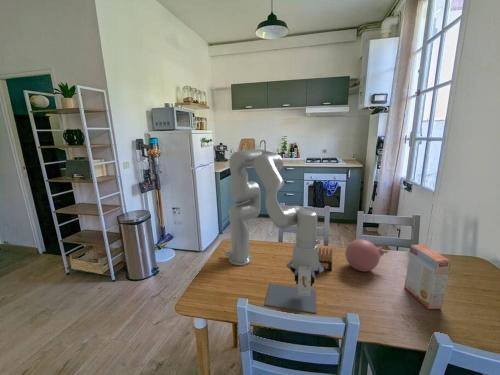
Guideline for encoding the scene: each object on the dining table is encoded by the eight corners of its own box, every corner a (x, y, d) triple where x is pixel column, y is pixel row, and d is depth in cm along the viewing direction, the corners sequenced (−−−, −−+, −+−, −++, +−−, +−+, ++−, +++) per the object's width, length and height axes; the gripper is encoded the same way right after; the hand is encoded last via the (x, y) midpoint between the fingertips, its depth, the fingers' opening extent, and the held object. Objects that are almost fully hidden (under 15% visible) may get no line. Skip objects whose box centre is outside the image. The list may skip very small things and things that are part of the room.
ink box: (298, 282, 103) (299, 257, 100) (309, 283, 102) (311, 258, 99) (297, 295, 95) (298, 268, 92) (310, 296, 94) (311, 269, 91)
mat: (264, 305, 96) (264, 304, 96) (269, 284, 110) (270, 283, 110) (316, 313, 92) (316, 312, 92) (315, 290, 105) (315, 289, 105)
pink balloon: (393, 278, 113) (398, 248, 110) (350, 277, 114) (353, 247, 111) (378, 261, 128) (382, 234, 125) (340, 260, 129) (342, 233, 126)
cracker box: (442, 309, 93) (452, 260, 89) (427, 310, 93) (436, 261, 88) (416, 286, 107) (424, 243, 102) (403, 287, 107) (410, 244, 102)
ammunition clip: (331, 269, 121) (332, 247, 119) (331, 271, 120) (333, 249, 117) (309, 267, 123) (310, 245, 121) (309, 269, 122) (310, 247, 119)
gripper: (328, 239, 95) (325, 280, 99) (284, 236, 99) (284, 275, 103) (329, 248, 88) (326, 292, 92) (283, 244, 92) (282, 286, 96)
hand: (304, 282), depth 98 cm, fingers closed on ink box, 5 cm apart
